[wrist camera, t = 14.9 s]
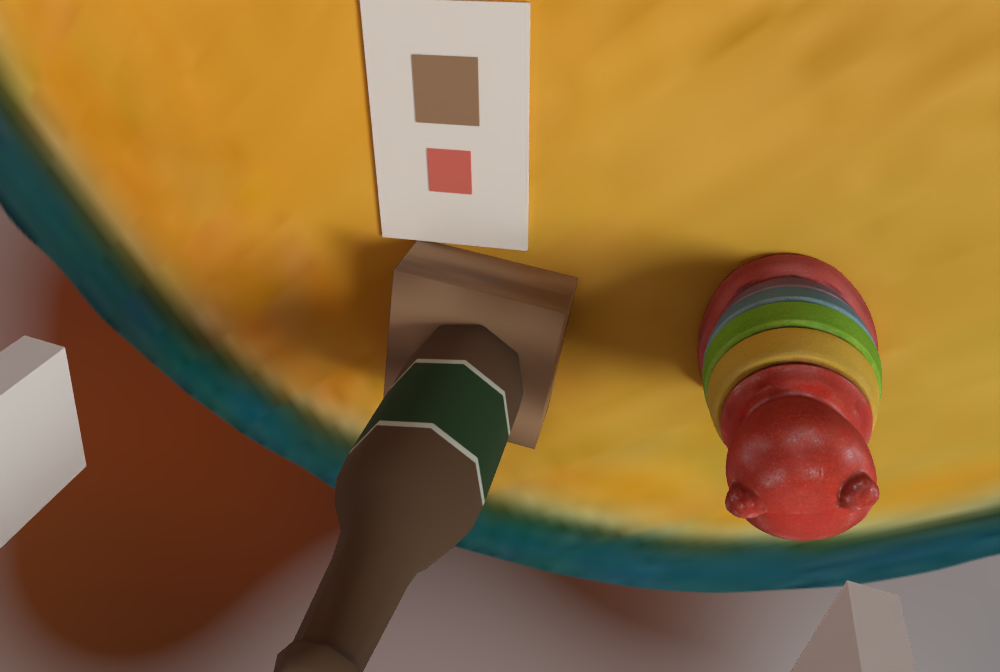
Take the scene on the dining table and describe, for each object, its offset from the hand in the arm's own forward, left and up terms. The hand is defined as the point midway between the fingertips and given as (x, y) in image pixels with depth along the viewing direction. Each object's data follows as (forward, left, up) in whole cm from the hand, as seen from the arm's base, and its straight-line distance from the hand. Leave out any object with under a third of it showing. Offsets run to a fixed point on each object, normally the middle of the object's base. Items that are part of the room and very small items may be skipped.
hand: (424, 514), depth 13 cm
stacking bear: (+14, +13, -37) cm, 42 cm away
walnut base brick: (+20, -6, -37) cm, 42 cm away
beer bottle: (+21, -5, -32) cm, 39 cm away
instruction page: (+7, -10, -37) cm, 39 cm away
